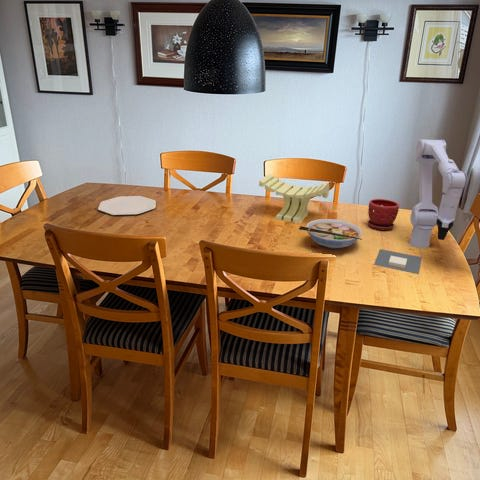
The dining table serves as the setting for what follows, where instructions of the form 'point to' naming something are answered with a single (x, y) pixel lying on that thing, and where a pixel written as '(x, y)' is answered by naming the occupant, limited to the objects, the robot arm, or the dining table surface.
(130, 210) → the plate
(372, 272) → the dining table surface
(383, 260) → the mat
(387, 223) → the plant pot
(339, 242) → the ramen bowl
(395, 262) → the tile
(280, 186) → the slatted curved stool
